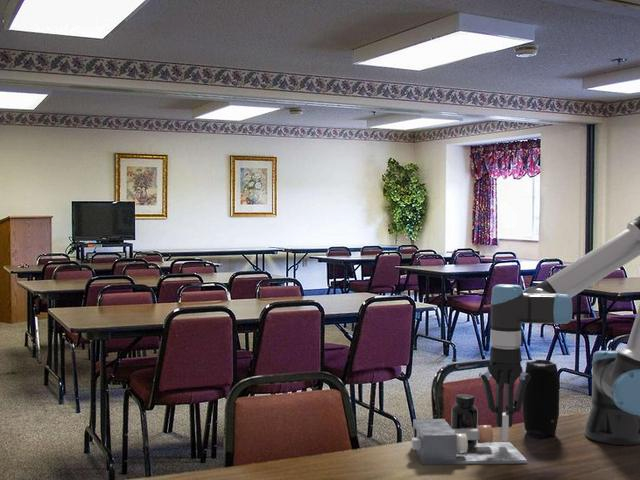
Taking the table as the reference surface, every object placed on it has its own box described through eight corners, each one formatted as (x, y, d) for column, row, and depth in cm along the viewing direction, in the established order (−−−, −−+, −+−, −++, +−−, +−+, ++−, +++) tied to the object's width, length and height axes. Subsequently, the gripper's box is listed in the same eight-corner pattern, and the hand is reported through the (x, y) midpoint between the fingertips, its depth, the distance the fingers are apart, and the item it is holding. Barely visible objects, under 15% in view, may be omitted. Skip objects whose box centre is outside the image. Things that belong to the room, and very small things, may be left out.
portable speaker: (563, 438, 201) (564, 365, 200) (528, 439, 200) (529, 365, 200) (551, 429, 210) (552, 358, 209) (517, 430, 209) (518, 359, 208)
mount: (509, 445, 196) (510, 418, 195) (527, 463, 182) (527, 434, 181) (412, 446, 194) (413, 419, 194) (422, 464, 180) (423, 435, 180)
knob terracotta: (488, 440, 194) (488, 422, 194) (492, 445, 190) (493, 427, 189) (437, 440, 193) (437, 423, 193) (440, 446, 189) (441, 428, 189)
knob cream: (463, 449, 187) (463, 431, 186) (467, 454, 182) (467, 436, 182) (410, 449, 186) (410, 431, 186) (413, 455, 182) (413, 437, 181)
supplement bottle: (466, 447, 194) (466, 400, 193) (445, 441, 199) (445, 395, 198) (482, 442, 198) (483, 396, 198) (461, 436, 203) (462, 391, 203)
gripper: (526, 343, 195) (524, 435, 196) (476, 343, 194) (474, 435, 195) (536, 349, 187) (534, 444, 188) (483, 349, 187) (481, 444, 188)
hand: (503, 439), depth 192 cm, fingers closed
